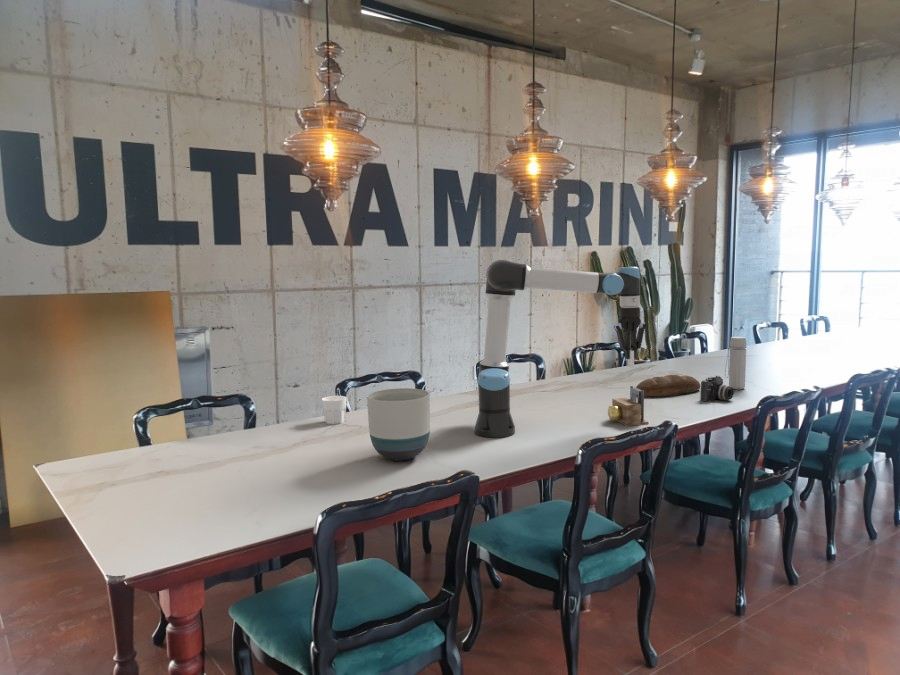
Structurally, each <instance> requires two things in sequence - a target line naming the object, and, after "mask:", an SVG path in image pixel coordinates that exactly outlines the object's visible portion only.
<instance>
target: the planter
mask: <svg viewBox="0 0 900 675" xmlns="http://www.w3.org/2000/svg"><path fill="white" fill-rule="evenodd" d="M430 395H431V394H430V392H429V391H428V390H425V389H420V388H412V387H411V388H407V387H405V388H403V387H402V388H400V387H399V388H387V389H381V390H377V391H376V390H375V391H373V392H370V393H368V394H367V396H366V401H367V416H368V417H367V420H368V428H369V429H368V430H369V431H368V432H369V437H370V442H371V444H372V447H373V448H374V449H375V451H376V452H377V453H378V454H379V455H381V456H382V457H383V458H385V459H387V460H391V461H397V462H398V461H406V460H410V459H411V460H412V459H413V458H415V457H417V456H418V455H420V454H421V452H423V450H424V449H425V448H426V446H427V445H428V442H429V438H430V433H431V399H430V397H431V396H430Z"/></svg>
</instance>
